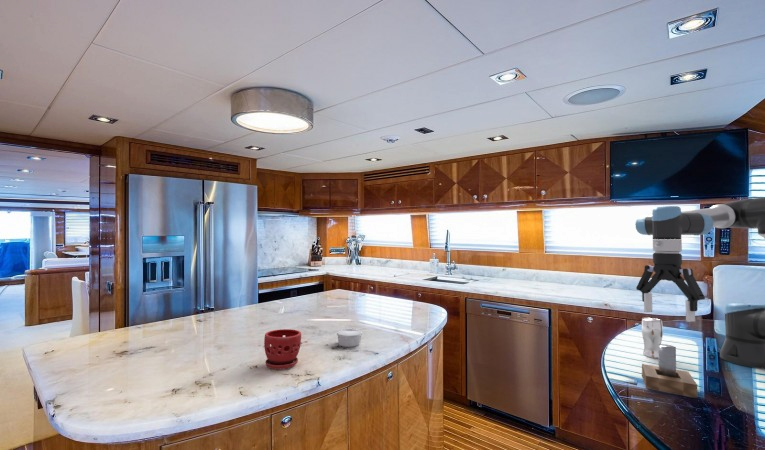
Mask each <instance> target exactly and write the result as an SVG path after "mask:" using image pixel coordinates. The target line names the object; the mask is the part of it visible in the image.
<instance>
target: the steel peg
mask: <svg viewBox="0 0 765 450" xmlns="http://www.w3.org/2000/svg"><path fill="white" fill-rule="evenodd" d="M676 349H677V348H676V346H674V345H672V344H671V345H670V344H664V343H661V344H659V358H658V367H659V375H662V376H668V377H673V378H676V370H677V350H676Z"/></svg>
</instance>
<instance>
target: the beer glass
mask: <svg viewBox="0 0 765 450" xmlns="http://www.w3.org/2000/svg"><path fill="white" fill-rule="evenodd" d="M663 326H664V325H663V320H662V319H658V318H654V317H652V318H651V317H642V318H641V334H642V340H643V346H644V347H643V353H642V354H643V356H645V357H647V358H651V359H659V344H662V340H663V334H664V329H663V328H664V327H663Z"/></svg>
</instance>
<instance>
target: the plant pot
mask: <svg viewBox="0 0 765 450" xmlns="http://www.w3.org/2000/svg"><path fill="white" fill-rule="evenodd" d="M263 341H264V342H263V344H264V346H263V347H264V352H265V357H266V360H265V362H264V363H265V365H266V367H267V368H270V369H272V370H276V371H279V370H287V369H291V368H292V367H294V366H296V365H297V364H298V362H299V359H298V355H299V352H300V348H301V343H302V332H301V331H299V330H297V329H293V328H292V329H291V328H290V329H288V328H286V329H285V328H283V329H281V328H280V329H273V330H269V331H266V333H264V340H263Z"/></svg>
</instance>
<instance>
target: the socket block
mask: <svg viewBox="0 0 765 450" xmlns="http://www.w3.org/2000/svg"><path fill="white" fill-rule="evenodd" d="M641 377H642V379H643V383H644V386H645V388H646V389H647V390H648V389H649V390H654V391H658V392H659V391H660V392H663V393H667V394H674V395H678V396H679V395H680V396H684V397H688V398H693V399H698V383H697V382H696V381H695V379H694V378H693V376H692V375H691V374H690V372H689V371H688V370H681V369H676V378H673V377H668V376H662V375H659V365H658V366H657V365H652V364H651V365H650V364H645V363H641Z"/></svg>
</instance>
